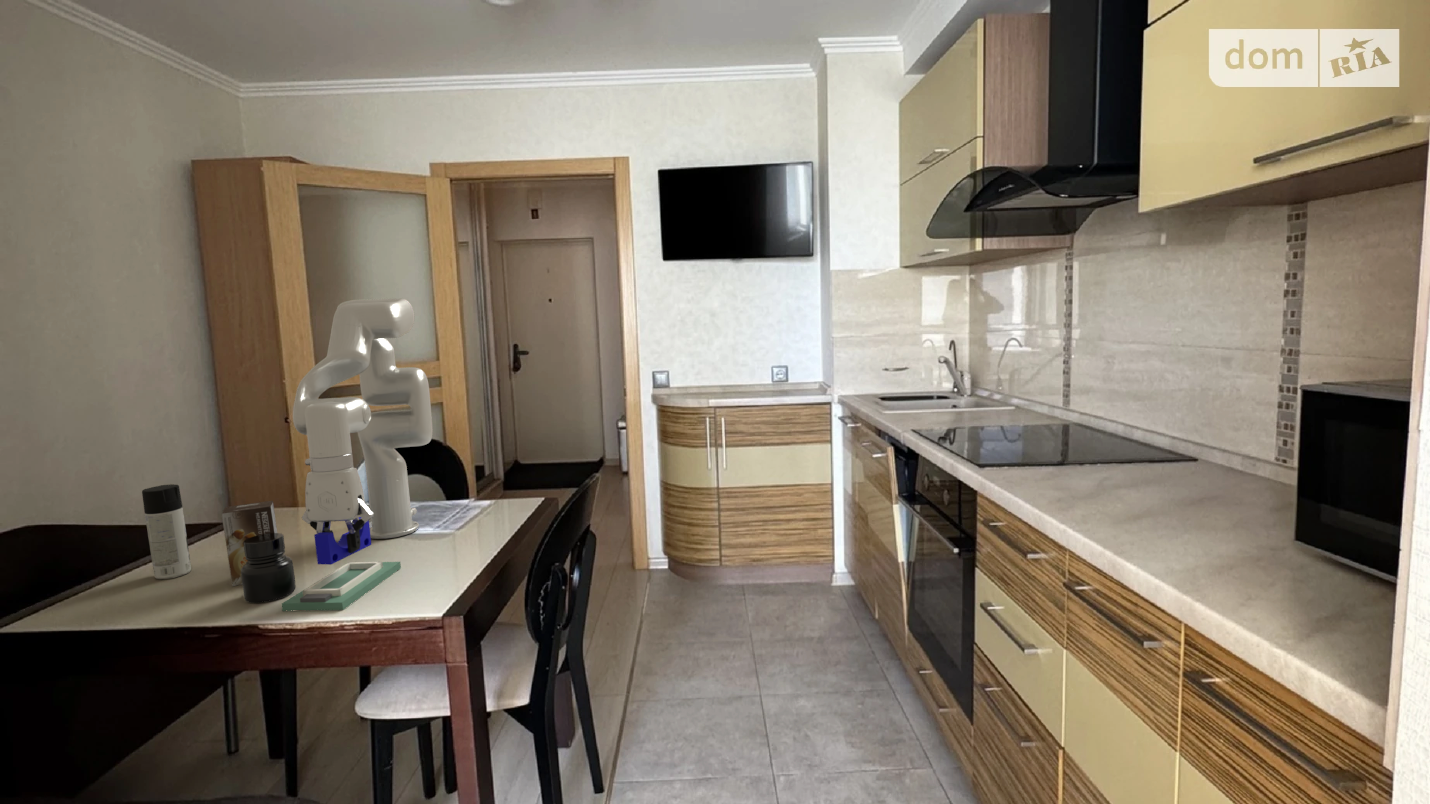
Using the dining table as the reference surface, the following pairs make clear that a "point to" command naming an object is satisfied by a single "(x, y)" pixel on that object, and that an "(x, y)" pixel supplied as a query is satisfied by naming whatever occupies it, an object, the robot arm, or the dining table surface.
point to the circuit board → (342, 586)
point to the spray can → (166, 531)
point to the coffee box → (245, 531)
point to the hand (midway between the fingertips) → (341, 550)
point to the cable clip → (338, 545)
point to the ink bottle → (267, 569)
